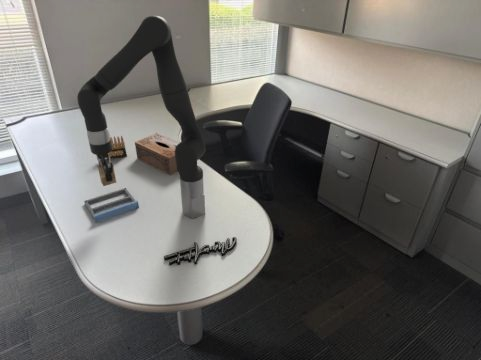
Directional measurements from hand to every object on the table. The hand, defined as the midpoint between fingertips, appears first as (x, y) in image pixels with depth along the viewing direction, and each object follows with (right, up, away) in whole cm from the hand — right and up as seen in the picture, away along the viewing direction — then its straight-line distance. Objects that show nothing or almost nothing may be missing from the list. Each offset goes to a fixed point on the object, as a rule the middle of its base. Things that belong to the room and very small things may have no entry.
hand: (108, 178), depth 134 cm
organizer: (-3, -11, +11) cm, 16 cm away
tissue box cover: (+12, +9, +44) cm, 46 cm away
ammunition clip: (-14, +12, +46) cm, 49 cm away
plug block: (0, -2, +1) cm, 2 cm away
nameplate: (+39, -27, -10) cm, 48 cm away
